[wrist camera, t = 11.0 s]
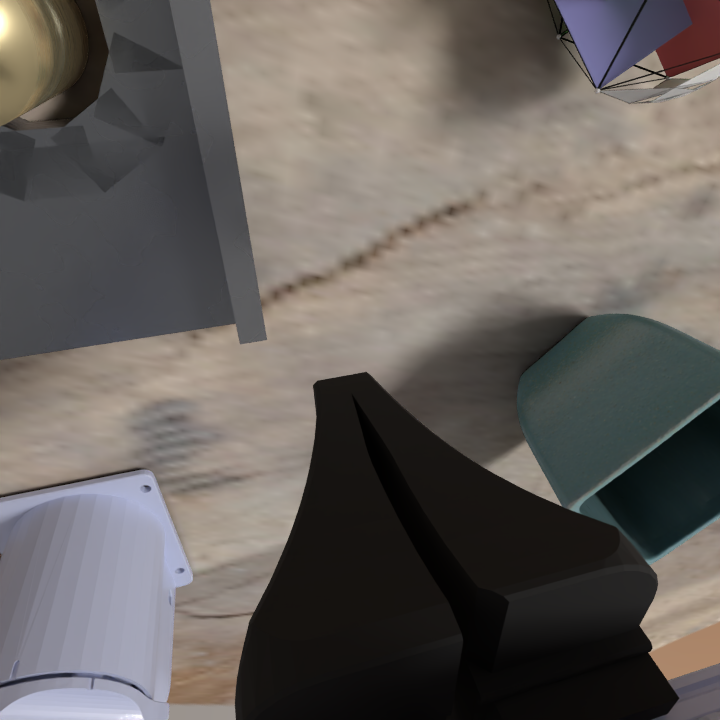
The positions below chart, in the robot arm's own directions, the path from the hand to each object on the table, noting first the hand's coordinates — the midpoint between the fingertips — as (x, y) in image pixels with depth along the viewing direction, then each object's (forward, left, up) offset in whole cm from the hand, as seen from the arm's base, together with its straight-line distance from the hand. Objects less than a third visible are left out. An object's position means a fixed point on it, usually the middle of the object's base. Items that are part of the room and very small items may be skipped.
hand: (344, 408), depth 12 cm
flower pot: (-9, -15, -10) cm, 20 cm away
